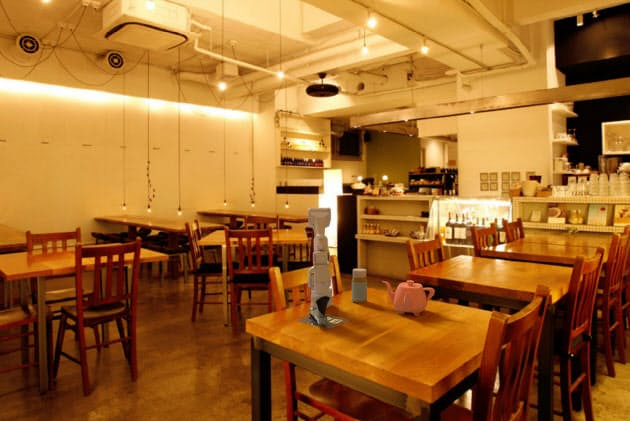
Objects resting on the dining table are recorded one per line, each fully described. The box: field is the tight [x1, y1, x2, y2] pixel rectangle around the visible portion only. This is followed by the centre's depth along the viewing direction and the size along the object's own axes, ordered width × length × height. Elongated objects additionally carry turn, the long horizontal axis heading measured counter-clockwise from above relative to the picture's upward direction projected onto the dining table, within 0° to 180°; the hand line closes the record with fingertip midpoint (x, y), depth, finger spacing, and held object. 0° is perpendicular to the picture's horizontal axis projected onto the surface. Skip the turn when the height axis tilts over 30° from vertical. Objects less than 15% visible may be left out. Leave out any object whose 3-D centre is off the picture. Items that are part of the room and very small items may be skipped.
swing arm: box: [308, 306, 327, 324], centre depth 168 cm, size 16×3×3 cm, turn 15°
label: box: [328, 319, 343, 325], centre depth 168 cm, size 5×4×1 cm
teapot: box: [381, 279, 436, 317], centre depth 184 cm, size 16×17×14 cm
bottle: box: [351, 267, 368, 304], centre depth 200 cm, size 7×7×15 cm
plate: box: [296, 313, 350, 330], centre depth 170 cm, size 14×16×1 cm
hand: (322, 315), depth 171 cm, fingers closed, pressing on swing arm
